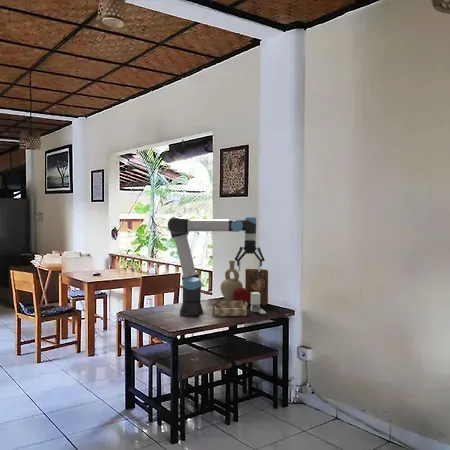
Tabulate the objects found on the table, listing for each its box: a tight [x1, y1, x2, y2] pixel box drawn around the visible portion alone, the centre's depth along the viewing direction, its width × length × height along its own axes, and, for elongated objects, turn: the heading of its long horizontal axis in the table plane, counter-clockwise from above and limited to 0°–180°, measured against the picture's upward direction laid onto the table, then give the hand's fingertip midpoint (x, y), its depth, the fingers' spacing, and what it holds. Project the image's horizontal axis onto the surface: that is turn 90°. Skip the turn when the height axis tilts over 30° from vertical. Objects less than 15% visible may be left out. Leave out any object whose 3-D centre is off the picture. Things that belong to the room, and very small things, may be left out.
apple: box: [233, 287, 250, 305], centre depth 346 cm, size 12×12×13 cm
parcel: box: [249, 292, 261, 313], centre depth 324 cm, size 5×7×12 cm
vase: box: [220, 260, 244, 301], centre depth 362 cm, size 17×17×30 cm
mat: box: [258, 308, 267, 315], centre depth 325 cm, size 12×12×1 cm
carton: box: [210, 300, 249, 317], centre depth 314 cm, size 23×13×8 cm, turn 99°
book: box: [244, 268, 269, 306], centre depth 352 cm, size 16×6×25 cm, turn 84°
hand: (249, 271), depth 328 cm, fingers open, 13 cm apart
